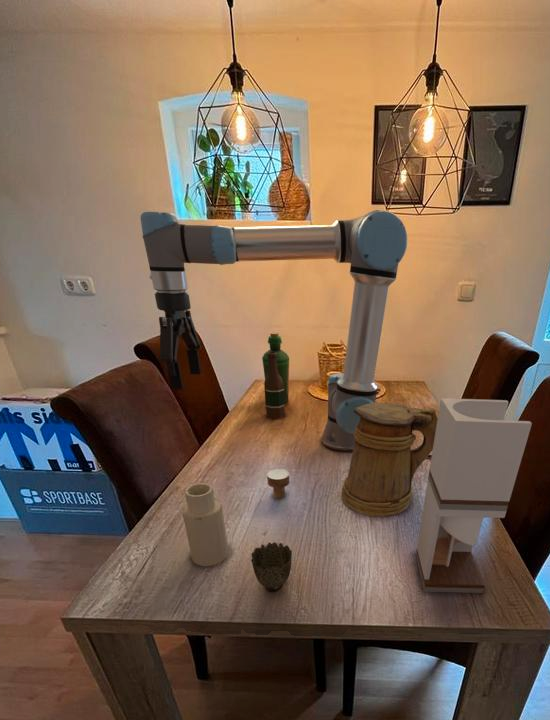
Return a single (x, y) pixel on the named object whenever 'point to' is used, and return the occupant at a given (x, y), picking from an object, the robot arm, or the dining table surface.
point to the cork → (278, 481)
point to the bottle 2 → (278, 362)
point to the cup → (272, 565)
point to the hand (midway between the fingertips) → (187, 381)
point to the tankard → (386, 457)
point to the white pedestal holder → (466, 488)
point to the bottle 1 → (204, 525)
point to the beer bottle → (274, 389)
